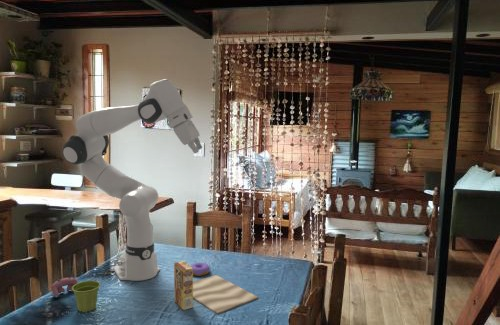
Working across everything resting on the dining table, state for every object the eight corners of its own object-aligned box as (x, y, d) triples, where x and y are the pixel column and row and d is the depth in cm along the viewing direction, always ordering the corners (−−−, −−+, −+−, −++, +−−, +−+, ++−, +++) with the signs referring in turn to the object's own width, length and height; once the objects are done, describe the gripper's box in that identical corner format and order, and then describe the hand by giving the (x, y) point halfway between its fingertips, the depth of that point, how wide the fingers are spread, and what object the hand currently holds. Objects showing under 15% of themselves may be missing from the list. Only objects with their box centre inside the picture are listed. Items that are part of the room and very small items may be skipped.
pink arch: (78, 292, 155) (75, 275, 157) (82, 291, 152) (78, 273, 154) (52, 300, 148) (49, 282, 150) (55, 298, 145) (52, 280, 147)
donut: (190, 267, 180) (192, 258, 180) (209, 272, 180) (211, 262, 180) (186, 276, 170) (188, 265, 170) (206, 281, 170) (208, 270, 170)
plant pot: (72, 317, 133) (71, 293, 132) (72, 305, 142) (72, 282, 141) (101, 312, 137) (100, 289, 136) (99, 301, 145) (99, 279, 144)
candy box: (193, 307, 142) (193, 267, 140) (182, 310, 139) (183, 270, 138) (183, 298, 149) (184, 260, 147) (173, 301, 147) (173, 262, 145)
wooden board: (176, 288, 158) (176, 286, 158) (215, 276, 171) (215, 274, 171) (217, 314, 137) (217, 312, 137) (258, 298, 151) (258, 296, 151)
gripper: (178, 120, 155) (195, 150, 157) (167, 125, 135) (186, 159, 137) (192, 113, 154) (209, 143, 156) (182, 116, 134) (202, 150, 136)
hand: (198, 150), depth 146 cm, fingers open, 8 cm apart
